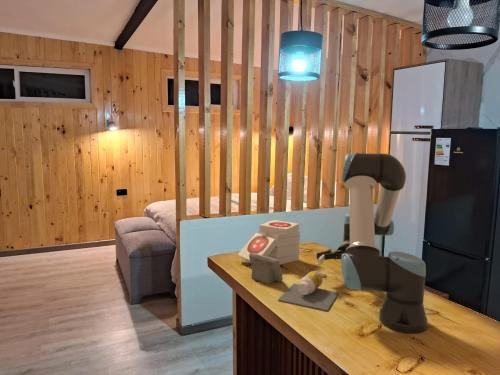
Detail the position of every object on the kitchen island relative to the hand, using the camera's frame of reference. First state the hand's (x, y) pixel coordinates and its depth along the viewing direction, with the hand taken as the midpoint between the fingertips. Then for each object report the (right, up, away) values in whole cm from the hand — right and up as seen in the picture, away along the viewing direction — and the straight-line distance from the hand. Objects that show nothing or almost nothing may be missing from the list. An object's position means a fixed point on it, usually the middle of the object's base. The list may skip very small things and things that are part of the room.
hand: (335, 264), depth 151 cm
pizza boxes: (-24, -6, +38) cm, 45 cm away
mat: (-12, -11, -5) cm, 17 cm away
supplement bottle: (-7, -6, +4) cm, 10 cm away
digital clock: (-28, -9, +13) cm, 32 cm away
